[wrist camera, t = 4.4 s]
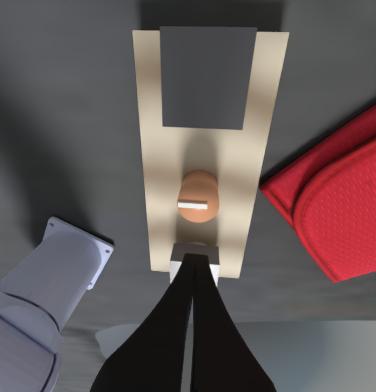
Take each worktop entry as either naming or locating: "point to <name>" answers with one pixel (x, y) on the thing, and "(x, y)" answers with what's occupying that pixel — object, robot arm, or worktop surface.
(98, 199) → the worktop surface
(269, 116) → the mount board
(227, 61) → the button
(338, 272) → the dish drying mat
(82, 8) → the worktop surface
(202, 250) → the button
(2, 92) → the worktop surface
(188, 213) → the orange knob
